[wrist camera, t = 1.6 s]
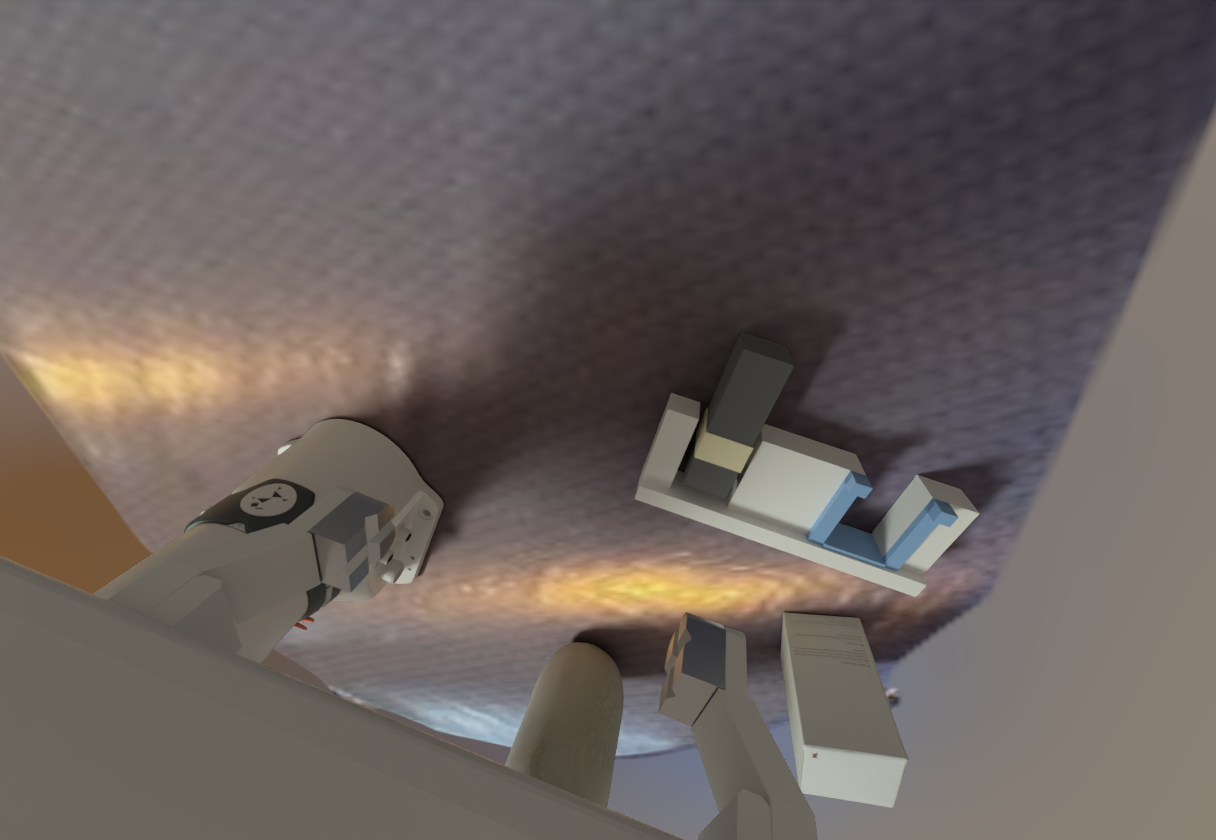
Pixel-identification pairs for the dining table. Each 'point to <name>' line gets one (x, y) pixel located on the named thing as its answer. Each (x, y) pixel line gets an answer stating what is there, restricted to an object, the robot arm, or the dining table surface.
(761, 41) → the dining table surface
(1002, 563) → the dining table surface
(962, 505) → the white angular block assembly
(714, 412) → the banded gray post
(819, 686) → the supplement box
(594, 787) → the glass bottle
